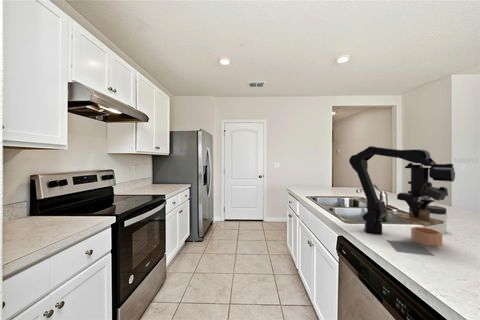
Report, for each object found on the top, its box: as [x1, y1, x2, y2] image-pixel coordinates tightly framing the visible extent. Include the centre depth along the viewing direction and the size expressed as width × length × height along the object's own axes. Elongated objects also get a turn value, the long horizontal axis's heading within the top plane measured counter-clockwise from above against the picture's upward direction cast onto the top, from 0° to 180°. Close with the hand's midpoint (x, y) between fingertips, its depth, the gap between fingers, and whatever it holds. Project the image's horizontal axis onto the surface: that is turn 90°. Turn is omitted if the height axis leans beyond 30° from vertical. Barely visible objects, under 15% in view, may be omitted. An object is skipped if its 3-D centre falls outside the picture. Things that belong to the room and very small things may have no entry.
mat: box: [386, 239, 436, 257], centre depth 86 cm, size 12×12×1 cm
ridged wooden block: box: [396, 207, 444, 227], centre depth 89 cm, size 11×11×5 cm
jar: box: [423, 204, 448, 235], centre depth 106 cm, size 9×8×12 cm
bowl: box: [410, 226, 444, 247], centre depth 93 cm, size 10×10×5 cm
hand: (419, 216), depth 89 cm, fingers closed on ridged wooden block, 3 cm apart
